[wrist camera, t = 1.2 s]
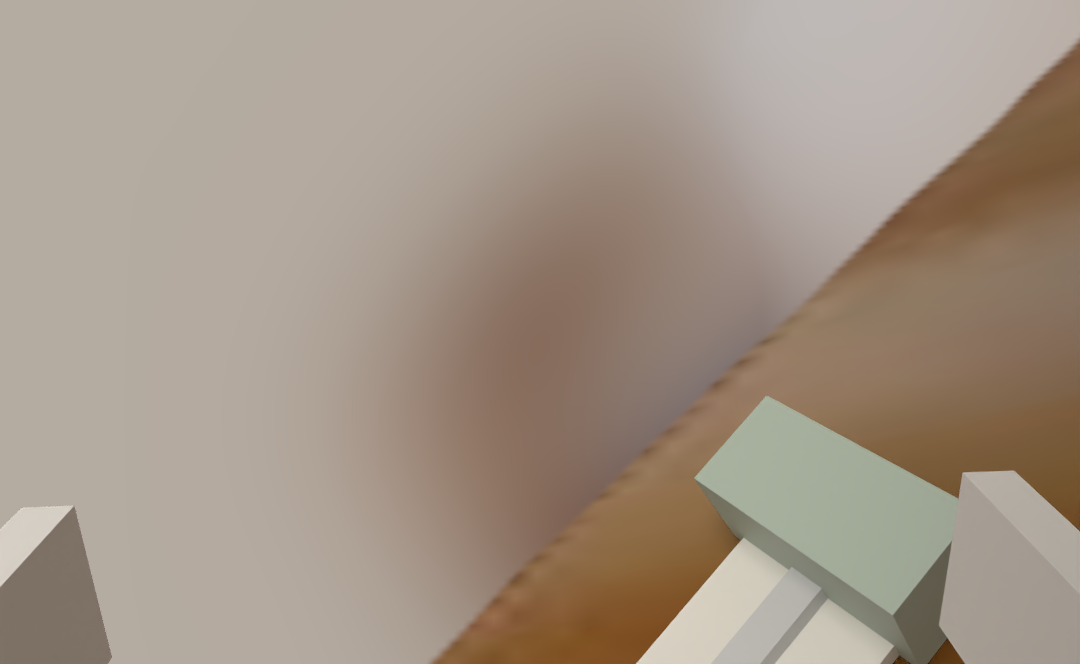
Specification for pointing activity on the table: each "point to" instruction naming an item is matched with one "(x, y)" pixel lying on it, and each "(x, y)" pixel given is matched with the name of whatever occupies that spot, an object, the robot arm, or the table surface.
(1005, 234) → the table surface
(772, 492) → the rail board
